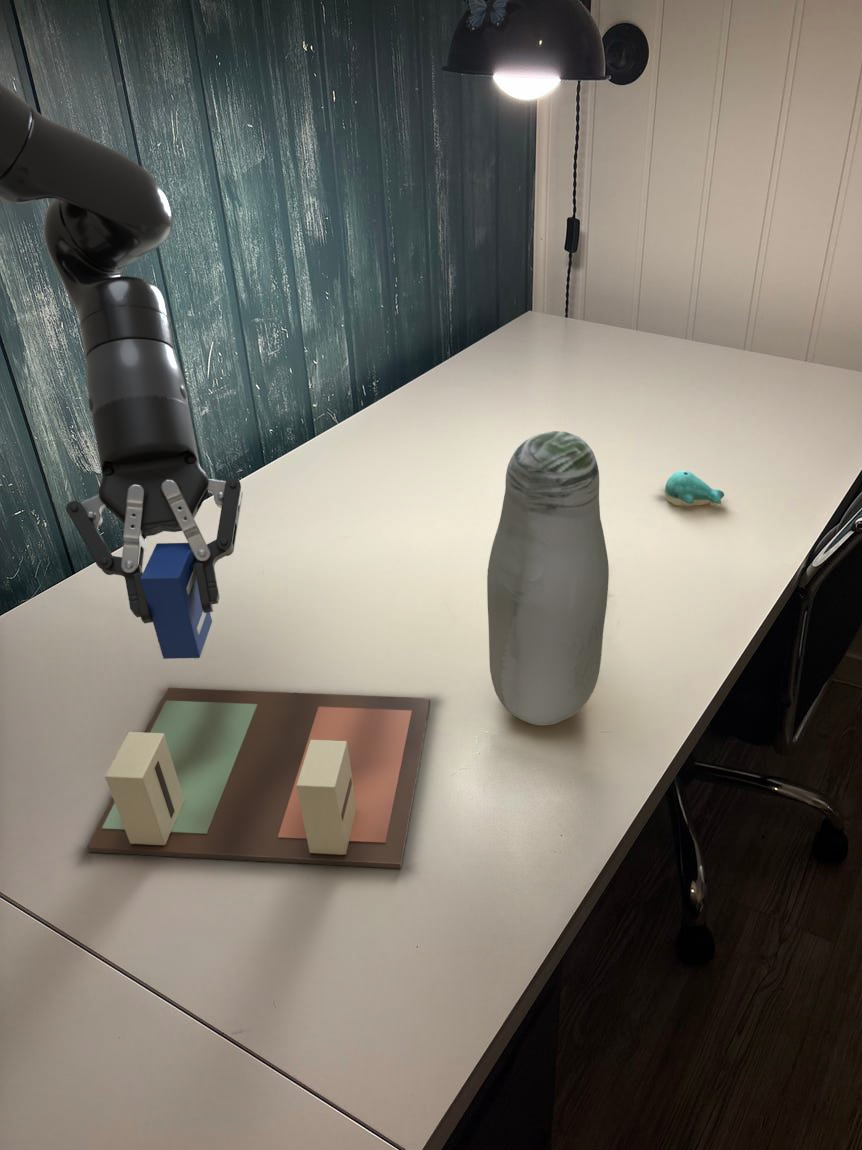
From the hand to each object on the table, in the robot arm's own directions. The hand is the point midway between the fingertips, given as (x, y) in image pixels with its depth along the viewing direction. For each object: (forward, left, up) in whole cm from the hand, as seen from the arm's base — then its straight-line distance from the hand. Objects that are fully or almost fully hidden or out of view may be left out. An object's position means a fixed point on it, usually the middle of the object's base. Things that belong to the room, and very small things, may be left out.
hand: (177, 615), depth 75 cm
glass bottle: (+29, +10, -17) cm, 35 cm away
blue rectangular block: (-1, +2, -4) cm, 5 cm away
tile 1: (-3, -7, -16) cm, 18 cm away
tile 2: (+12, -7, -16) cm, 22 cm away
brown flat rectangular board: (+5, 0, -17) cm, 18 cm away
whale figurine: (+47, +50, -17) cm, 71 cm away
